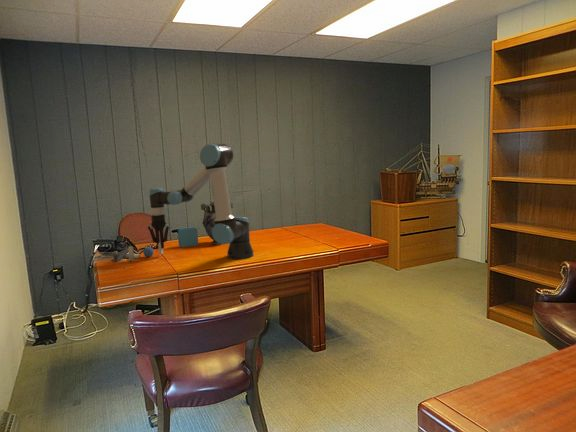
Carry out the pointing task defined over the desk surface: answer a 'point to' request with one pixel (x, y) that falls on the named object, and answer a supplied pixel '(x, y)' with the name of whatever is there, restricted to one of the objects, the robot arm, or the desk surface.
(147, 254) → the ball
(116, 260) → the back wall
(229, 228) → the robot arm
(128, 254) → the ivory pin
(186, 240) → the data package
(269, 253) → the desk surface
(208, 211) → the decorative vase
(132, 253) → the sage pin
